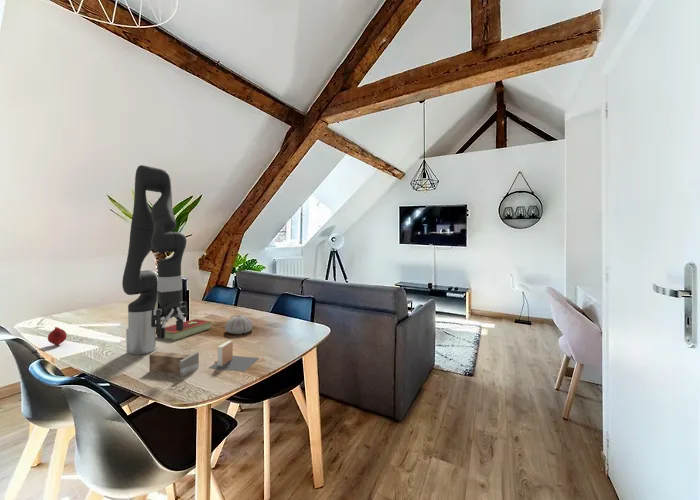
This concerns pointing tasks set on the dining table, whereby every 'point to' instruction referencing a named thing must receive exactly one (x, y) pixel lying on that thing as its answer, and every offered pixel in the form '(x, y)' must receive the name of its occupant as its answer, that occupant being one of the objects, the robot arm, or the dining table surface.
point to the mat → (236, 364)
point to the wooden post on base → (174, 362)
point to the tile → (225, 353)
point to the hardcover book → (187, 329)
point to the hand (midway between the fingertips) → (170, 334)
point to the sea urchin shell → (238, 325)
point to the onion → (57, 336)
